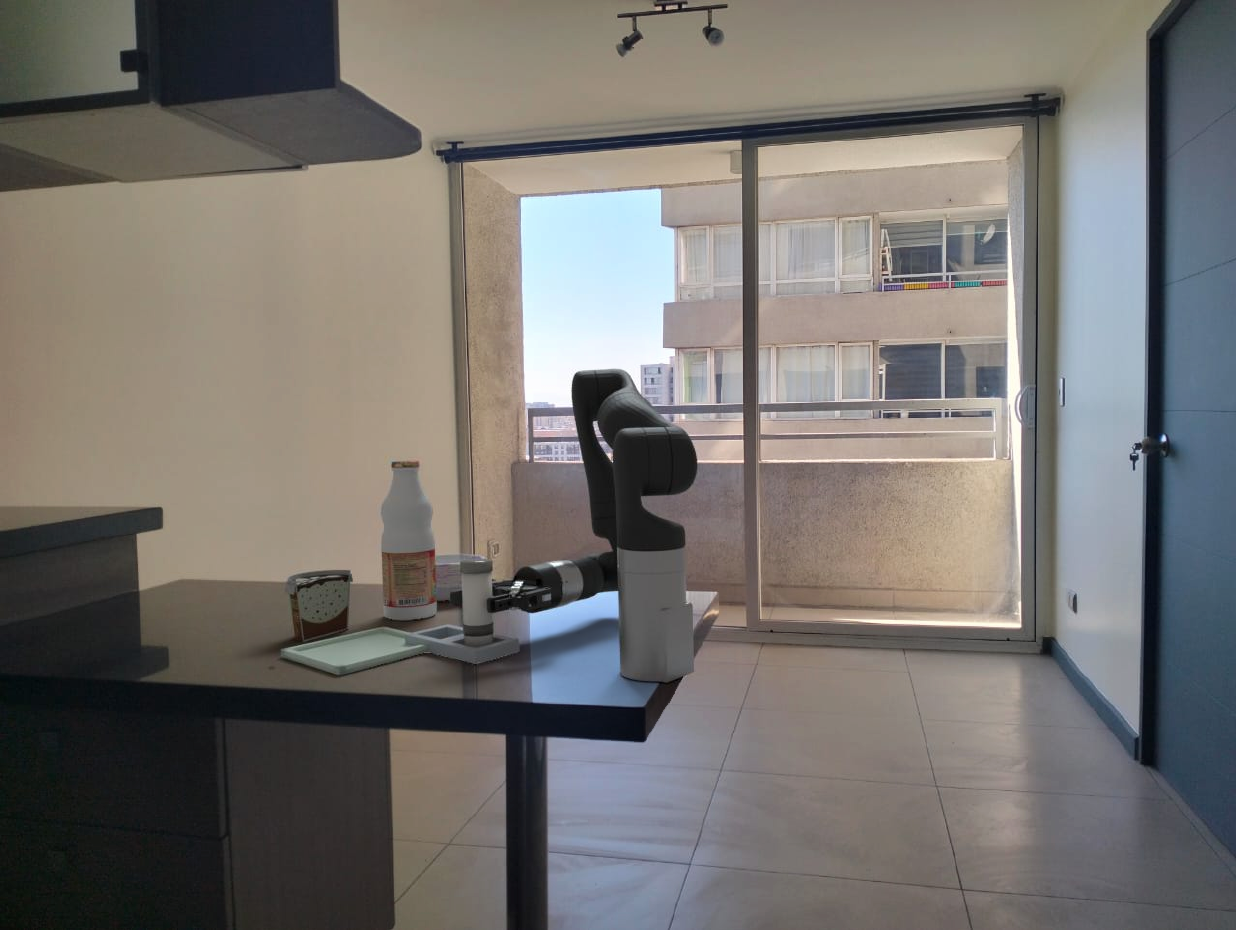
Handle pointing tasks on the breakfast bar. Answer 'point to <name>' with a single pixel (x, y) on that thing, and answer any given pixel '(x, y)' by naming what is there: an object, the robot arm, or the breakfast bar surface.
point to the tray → (354, 651)
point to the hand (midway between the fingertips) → (469, 602)
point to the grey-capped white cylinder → (477, 602)
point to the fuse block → (461, 644)
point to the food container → (319, 602)
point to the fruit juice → (408, 547)
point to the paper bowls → (449, 573)
